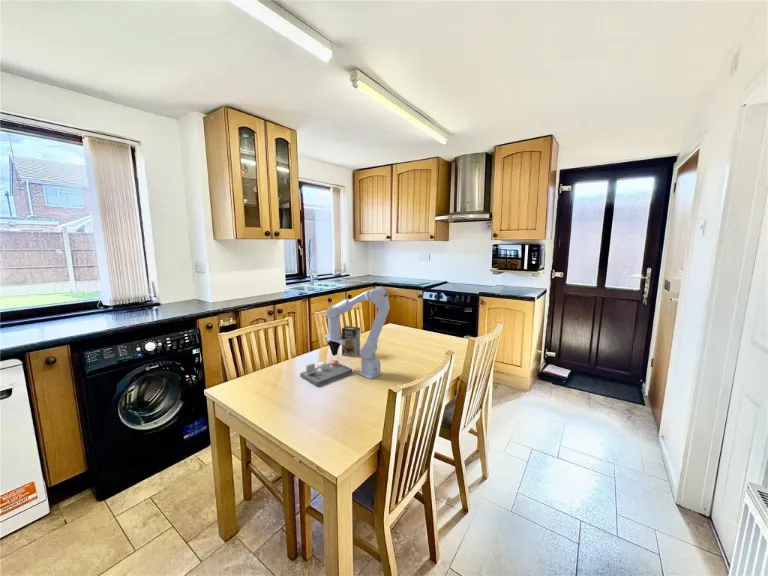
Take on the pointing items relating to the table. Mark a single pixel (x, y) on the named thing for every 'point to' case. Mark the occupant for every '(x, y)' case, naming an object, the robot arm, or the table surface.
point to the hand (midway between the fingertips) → (334, 355)
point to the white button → (322, 365)
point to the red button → (334, 363)
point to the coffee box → (351, 341)
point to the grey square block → (310, 369)
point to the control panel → (326, 374)
